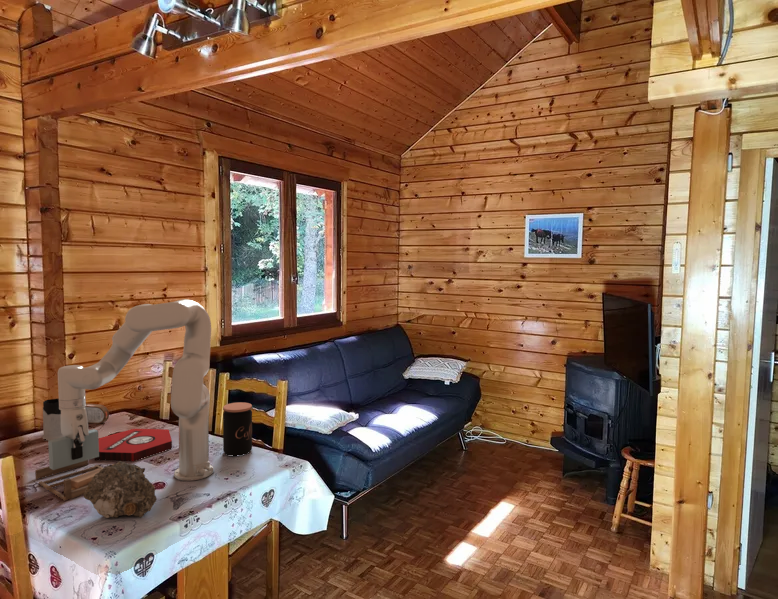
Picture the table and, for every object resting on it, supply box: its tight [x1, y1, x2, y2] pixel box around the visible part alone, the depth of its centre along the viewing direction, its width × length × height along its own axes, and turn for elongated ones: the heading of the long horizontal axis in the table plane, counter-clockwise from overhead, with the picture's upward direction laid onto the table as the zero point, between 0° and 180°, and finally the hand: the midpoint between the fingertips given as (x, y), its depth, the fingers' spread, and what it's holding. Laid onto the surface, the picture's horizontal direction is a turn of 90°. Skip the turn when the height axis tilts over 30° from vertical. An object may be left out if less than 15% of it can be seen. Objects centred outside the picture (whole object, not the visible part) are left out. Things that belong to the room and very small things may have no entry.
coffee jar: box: [222, 402, 253, 457], centre depth 194 cm, size 11×11×18 cm
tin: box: [85, 403, 110, 425], centre depth 226 cm, size 15×3×8 cm, turn 82°
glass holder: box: [42, 398, 65, 441], centre depth 209 cm, size 9×14×15 cm, turn 118°
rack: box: [34, 460, 104, 502], centre depth 167 cm, size 24×18×6 cm
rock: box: [82, 461, 158, 519], centre depth 147 cm, size 18×14×15 cm
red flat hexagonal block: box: [94, 428, 173, 462], centre depth 197 cm, size 27×4×30 cm
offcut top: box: [70, 468, 102, 489], centre depth 162 cm, size 4×10×2 cm, turn 155°
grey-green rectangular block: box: [47, 429, 99, 470], centre depth 168 cm, size 3×14×9 cm, turn 144°
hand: (74, 456), depth 168 cm, fingers closed on grey-green rectangular block, 3 cm apart
